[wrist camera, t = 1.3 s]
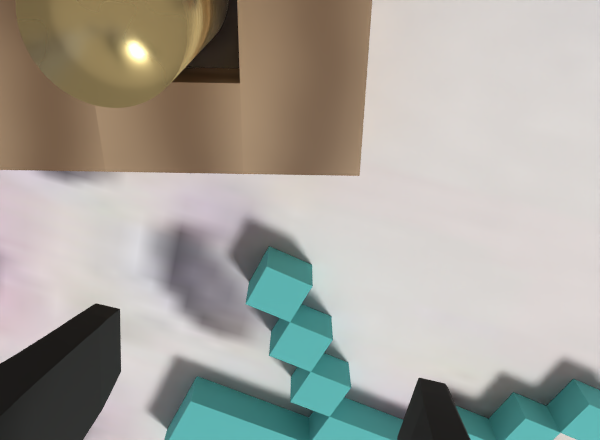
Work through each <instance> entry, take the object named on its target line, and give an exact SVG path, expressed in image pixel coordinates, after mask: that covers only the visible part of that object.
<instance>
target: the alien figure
mask: <svg viewBox="0 0 600 440" xmlns="http://www.w3.org/2000/svg"><path fill="white" fill-rule="evenodd" d="M312 286H313V285H312V265H311V264H309V263H307V262H304V261H302V260H300V259H297V258H295V257H293V256H291V255H288V254H286V253H284V252H281V251H279V250H277V249H275V248H272V247H270V246H269V247H268V249H267V251H266V253H265V254H264V256H263V258H262V260H261V262H260V263H259V265H258V267H257V269H256V271H255V272H254V274H253V276H252V278H251V280H250V281H249V286H248V292H247V299H246V304H247V305H249V306H252V307H254V308H256V309H259V310H261V311H264V312H266V313H269V314H271V315H274V316H276V317H278V318H279V320H278V321H277V323H276V325H275V326H274V328H273V330H272V331H271V340H270V352H269V356H271V357H274V358H276V359H279V360H281V361H284V362H287V363H289V364H292V365H294V366H297V368H296V370H295V371H294V373H293V375H292V376H291V395H290V402H291V403H294V404H297V405H299V406H302V407H305V408H307V409H310V410H313V413H312V414H311V416H310V417H306V416H304V415H301V414H298V413H295V412H293V411H290V410H287V409H285V408H282V407H279V406H277V405H274V404H271V403H268V402H266V401H263V400H260V399H258V398H255V397H252V396H250V395H247V394H244V393H241V392H239V391H236V390H233V389H231V388H228V387H225V386H222V385H220V384H217V383H214V382H212V381H209V380H206V379H204V378H201V377H198V376H197V377H196V379H195V380H194V382H193V384H192V386H191V388H190V389H189V391H188V393H187V395H186V397H185V398H184V400H183V402H182V404H181V406H180V407H179V409H178V411H177V413H176V415H175V416H174V418H173V420H172V422H171V424H170V425H169V427H168V429H167V432H166V436H165V440H397V437H398V434H399V431H400V428H401V426H402V423H403V420H402V419H400V418H397V417H394V416H392V415H389V414H387V413H384V412H381V411H379V410H376V409H374V408H371V407H368V406H366V405H363V404H361V403H358V402H355V401H353V400H350V399H348V398H345V395H346V394H347V393H348V391H349V390H350V388H351V383H350V373H349V364H348V362H345V361H343V360H340V359H338V358H335V357H333V356H330V355H328V354H325V353H324V352H325V350H326V349H327V348H328V346H329V345H330V343H331V342H332V340H333V335H332V322H331V316H329V315H327V314H324V313H322V312H320V311H317V310H315V309H312V308H310V307H308V306H305V305H303V304H302V302H303V301H304V299H305V297H306V296H307V294H308V293H309V291H310V289H311V288H312ZM456 408H457V410H458V413H459V415H460V417H461V419H462V422H463V424H464V426H465V428H466V430H467V433H468V435H469V437H470V439H471V440H553V439H554V438H555V437H556V436H557V435H558V434H559V433H562V434H565V435H567V436H570V437H572V438H575V439H577V440H600V390H598V389H596V388H593V387H591V386H589V385H587V384H584V383H582V382H580V381H577V380H575V379H573V380H572V381H571V382H570V383H569V384H568V385H567V386H566V387H565V388H564V389H563V390H562V391H561V392H560V393H559V394H558V395H557V396H556V397H555V398H554V399H553V400H552V401H551V402H550V403H549V404H548V405H547V406H545V405H543V404H540V403H538V402H535V401H533V400H531V399H528V398H526V397H523V396H521V395H519V394H516V393H514V392H513V393H512V394H511V395H510V396H509V398H508V399H507V400H506V401H505V402H504V403H503V404H502V405H501V406H500V407H499V408H498V409H497V410H496V411H495V413H494V414H493V415H492V416H491V417H490V418H489V419H488V418H485V417H483V416H480V415H478V414H475V413H473V412H470V411H468V410H465V409H463V408H460V407H458V406H456Z"/></svg>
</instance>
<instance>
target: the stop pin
mask: <svg viewBox="0 0 600 440" xmlns="http://www.w3.org/2000/svg"><path fill="white" fill-rule="evenodd" d="M227 9H228V0H16V16H17V22H18V26H19V30H20V34H21V37H22V39H23V42H24V44H25V46H26V48H27V50H28V52H29V54H30V56H31V57H32V59H33V60H34V62H35V63H36V65H37V66H38V67H39V69H40V70H41V71H42V72H43V73H44V75H45V76H46V77H47V78H48V79H49V80H51V81H52V82H53V83H54V84H55V85H56V86H58V87H59V88H60V89H61V90H63V91H64V92H66V93H68V94H69V95H71V96H72V97H74V98H77V99H79V100H81V101H83V102H86V103H89V104H92V105H96V106H101V107H108V108H125V107H130V106H135V105H138V104H141V103H144V102H146V101H148V100H150V99H152V98H154V97H155V96H157V95H158V94H160V93H161V92H162V91H163V90H164V89H165V88H166V87H167V86H168V85H169V84H170V83H171V82H172V81H173V80H174V79H175V78H176V77H177V76H178V75H179V74H180V73H181V72H182V70H183V69H184V68H185V67H186V66H187V65H188V64H189V63H190V62H191V61H192V60H193V59H194V58H195V57H196V56H197V55H198V53H199V52H200V51H201V50H202V49H203V48H204V47H205V46H206V45H207V44H208V43H209V42H210V41H211V40H212V39H213V38H214V36H215V35H216V34H217V33H218V31H219V30H220V28H221V27H222V25H223V23H224V20H225V18H226V14H227Z"/></svg>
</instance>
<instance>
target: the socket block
mask: <svg viewBox="0 0 600 440" xmlns="http://www.w3.org/2000/svg"><path fill="white" fill-rule="evenodd" d="M237 9H238V38H239V67H240V69H239V68H184V69H183V70H182V72H181V73H180V74H179V75H178V76H177V77H176V78H175V79H174V80H173V81H172V82H171V83H170V84H169V85H168V86H167V87H166V88H165V89H164V90H163V91H162V92H161V93H160V94H158V95H157V96H155V97H154V98H152V99H150V100H148V101H146V102H144V103H141V104H138V105H135V106H130V107H125V108H108V107H101V106H96V105H92V104H89V103H86V102H83V101H81V100H79V99H77V98H74V97H72V96H71V95H69V94H68V93H66V92H64V91H63V90H61V89H60V88H59V87H58V86H56V85H55V84H54V83H53V82H52V81H51V80H49V79H48V78H47V77H46V76H45V75H44V73H43V72H42V71H41V70H40V69H39V67H38V66H37V65H36V63H35V62H34V60H33V59H32V57H31V56H30V54H29V52H28V50H27V48H26V46H25V44H24V42H23V39H22V37H21V34H20V30H19V26H18V22H17V16H16V0H0V170H47V171H107V172H166V173H226V174H286V175H346V176H359V174H360V160H361V147H362V133H363V119H364V105H365V91H366V78H367V64H368V50H369V36H370V22H371V9H372V0H237Z"/></svg>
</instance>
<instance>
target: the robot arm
mask: <svg viewBox="0 0 600 440" xmlns="http://www.w3.org/2000/svg"><path fill="white" fill-rule="evenodd" d="M120 372H121V345H120V309H118V308H113V307H109V306H105V305H100V304H94V305H93V306H91V307H89V308H88V309H86V310H85V311H83V312H81V313H80V314H78V315H77V316H75V317H74V318H72V319H71V320H69V321H68V322H66V323H65V324H63V325H62V326H60V327H58V328H57V329H55V330H54V331H52V332H51V333H49V334H48V335H46V336H45V337H43V338H41V339H40V340H38V341H37V342H35V343H34V344H32V345H30V346H29V347H27V348H26V349H24V350H22V351H21V352H19V353H18V354H16V355H14V356H13V357H11V358H9V359H8V360H6V361H4V362H2V363H1V364H0V440H83V439H84V437H85V436H86V434H87V433H88V431H89V429H90V428H91V426H92V425H93V423H94V422H95V420H96V419H97V417H98V415H99V414H100V412H101V411H102V409H103V407H104V405H105V403H106V401H107V399H108V397H109V395H110V393H111V391H112V389H113V387H114V385H115V383H116V381H117V379H118V376H119V374H120ZM397 440H471V439H470V437H469V435H468V433H467V430H466V428H465V426H464V424H463V422H462V419H461V417H460V415H459V413H458V410H457V408H456V406H455V403H454V401H453V399H452V396H451V394H450V391H449V389H448V387H447V386H446V384H444V383H440V382H436V381H431V380H427V379H423V378H418V381H417V384H416V387H415V389H414V392H413V395H412V398H411V401H410V403H409V406H408V409H407V412H406V414H405V417H404V420H403V423H402V426H401V428H400V431H399V434H398V437H397Z"/></svg>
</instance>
